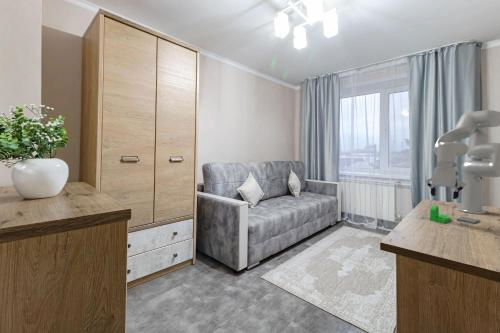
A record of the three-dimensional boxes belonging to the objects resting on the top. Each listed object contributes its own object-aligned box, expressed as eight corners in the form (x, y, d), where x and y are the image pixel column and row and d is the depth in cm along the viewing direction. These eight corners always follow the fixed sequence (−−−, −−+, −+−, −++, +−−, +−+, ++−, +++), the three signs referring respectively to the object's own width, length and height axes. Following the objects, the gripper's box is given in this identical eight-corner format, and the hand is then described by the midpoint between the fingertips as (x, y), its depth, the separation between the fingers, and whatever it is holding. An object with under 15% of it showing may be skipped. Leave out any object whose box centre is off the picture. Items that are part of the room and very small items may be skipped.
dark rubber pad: (463, 218, 128) (463, 216, 128) (480, 221, 122) (480, 220, 122) (456, 220, 124) (456, 218, 124) (474, 223, 118) (474, 222, 118)
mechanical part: (443, 223, 119) (444, 208, 119) (429, 220, 124) (430, 206, 124) (451, 220, 126) (452, 205, 125) (438, 217, 131) (439, 203, 130)
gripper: (470, 166, 116) (467, 199, 117) (430, 164, 131) (428, 194, 132) (463, 166, 113) (461, 200, 114) (423, 164, 128) (421, 195, 129)
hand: (443, 197), depth 123 cm, fingers open, 9 cm apart
